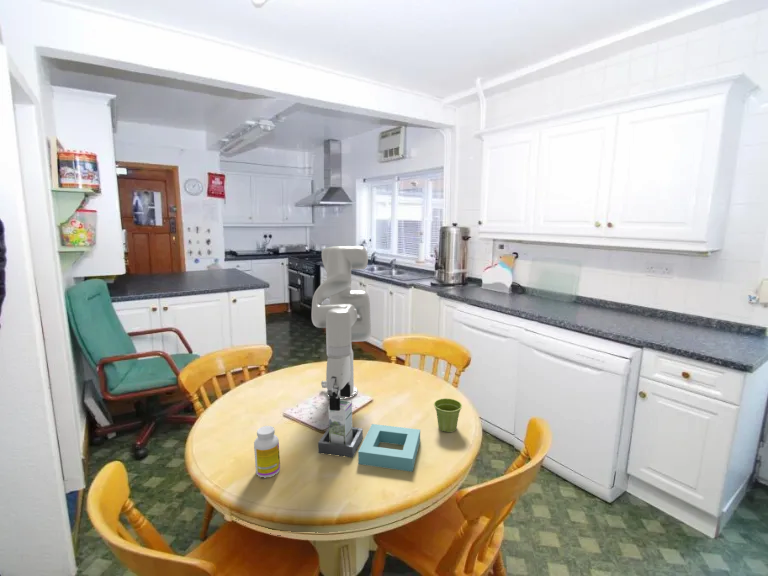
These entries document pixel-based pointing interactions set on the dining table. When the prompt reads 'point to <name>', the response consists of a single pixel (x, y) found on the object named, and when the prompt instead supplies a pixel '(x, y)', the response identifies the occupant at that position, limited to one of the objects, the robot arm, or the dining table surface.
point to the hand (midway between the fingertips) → (340, 402)
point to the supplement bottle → (266, 452)
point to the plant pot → (447, 413)
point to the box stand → (341, 449)
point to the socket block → (386, 456)
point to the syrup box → (341, 423)
